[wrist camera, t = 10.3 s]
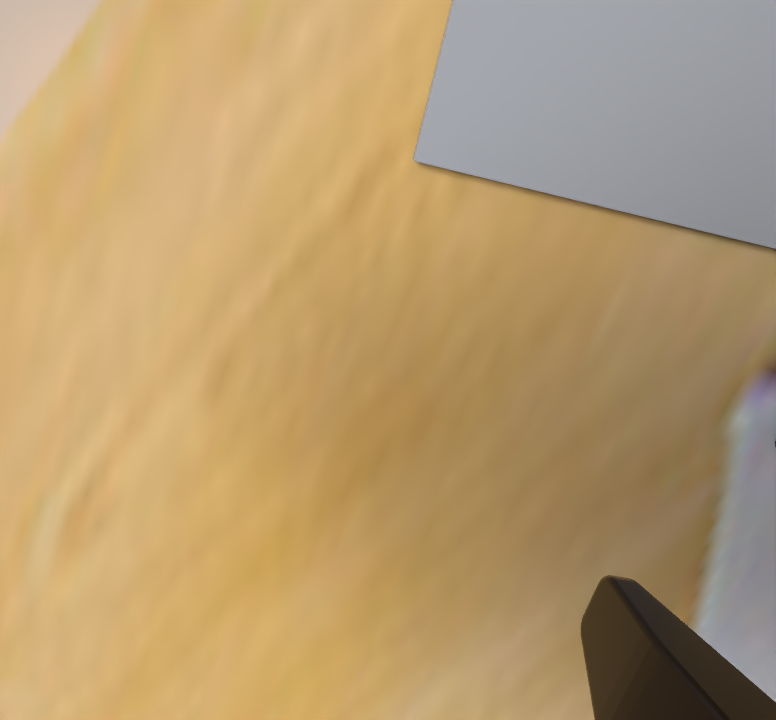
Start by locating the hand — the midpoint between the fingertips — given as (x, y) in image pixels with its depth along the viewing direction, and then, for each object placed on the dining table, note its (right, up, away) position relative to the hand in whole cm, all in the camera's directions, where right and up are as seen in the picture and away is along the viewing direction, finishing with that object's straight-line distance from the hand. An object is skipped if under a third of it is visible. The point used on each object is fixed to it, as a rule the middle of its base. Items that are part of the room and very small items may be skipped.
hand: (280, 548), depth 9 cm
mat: (+9, +11, +10) cm, 17 cm away
